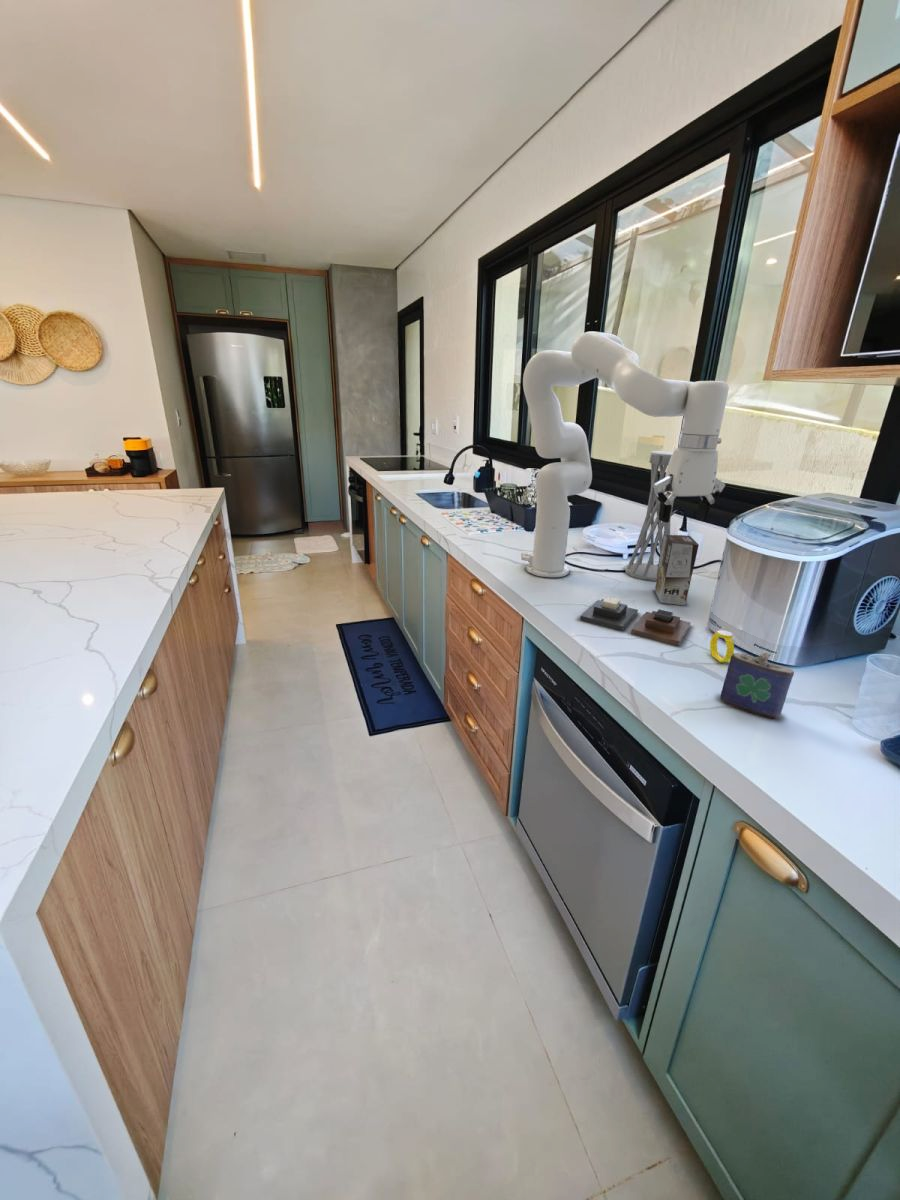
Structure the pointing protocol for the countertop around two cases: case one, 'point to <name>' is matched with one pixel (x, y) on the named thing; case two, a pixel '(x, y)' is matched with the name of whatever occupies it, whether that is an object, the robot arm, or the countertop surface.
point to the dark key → (663, 616)
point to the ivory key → (611, 603)
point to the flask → (756, 685)
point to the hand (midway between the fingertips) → (682, 520)
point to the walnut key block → (661, 629)
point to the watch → (729, 644)
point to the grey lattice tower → (649, 569)
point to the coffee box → (676, 569)
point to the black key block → (609, 615)
